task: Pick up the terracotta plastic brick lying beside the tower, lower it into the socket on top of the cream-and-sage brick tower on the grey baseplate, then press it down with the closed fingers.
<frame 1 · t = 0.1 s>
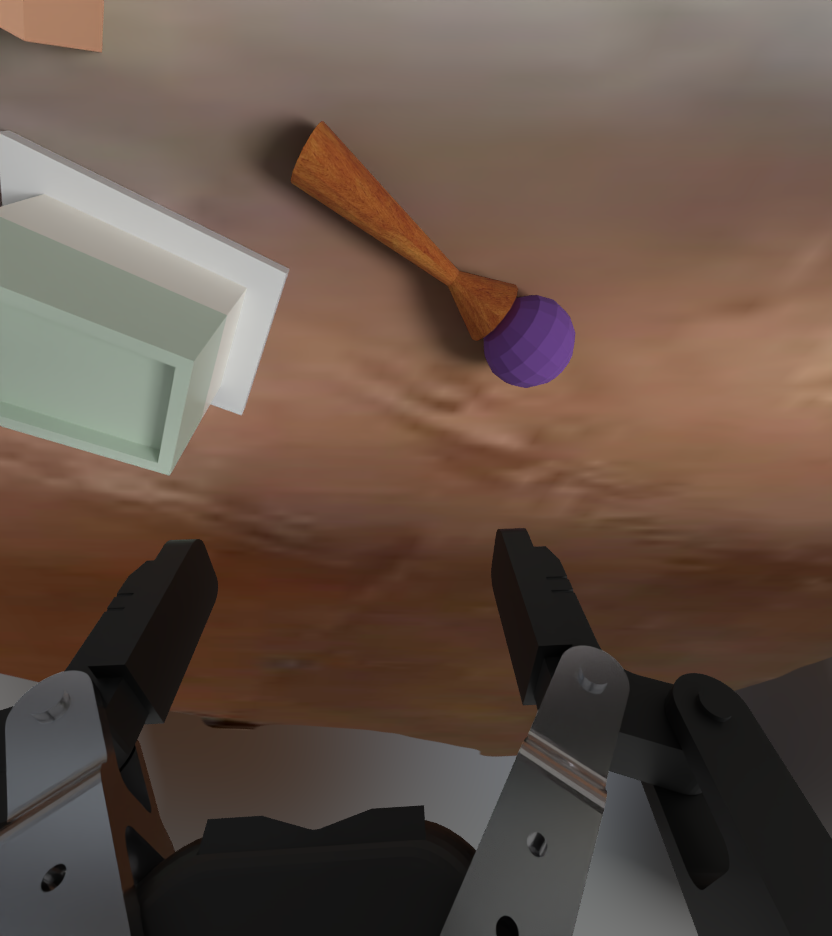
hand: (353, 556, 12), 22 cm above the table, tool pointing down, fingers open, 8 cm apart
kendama: (445, 262, 28), on the table
tower: (152, 298, 28), on the table
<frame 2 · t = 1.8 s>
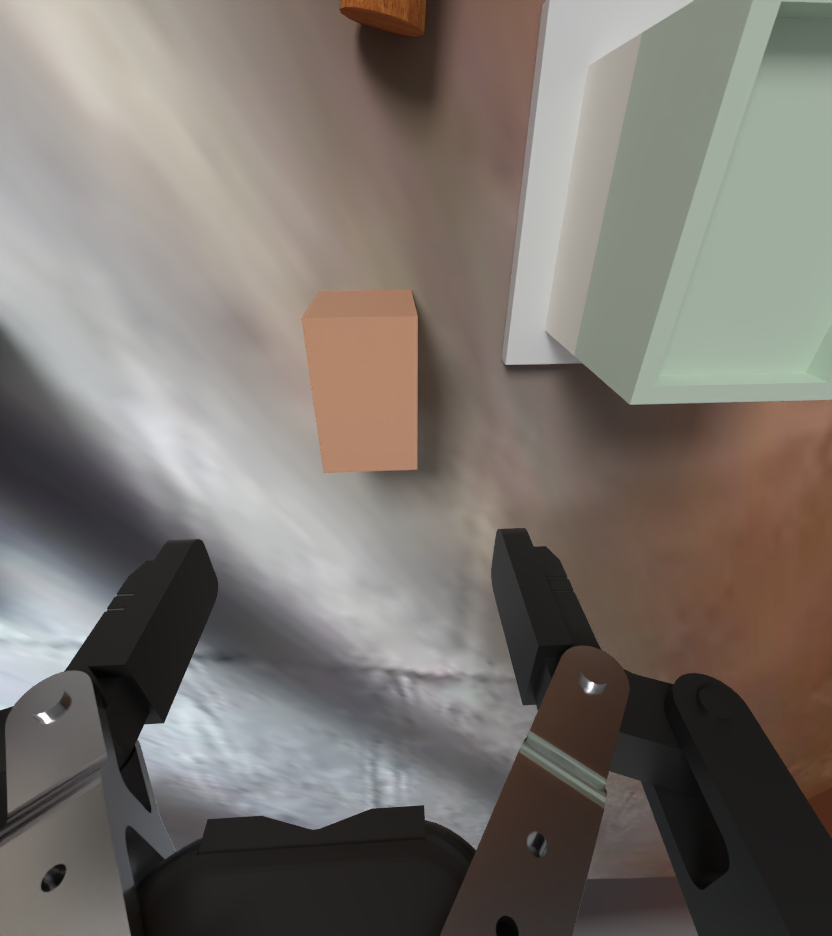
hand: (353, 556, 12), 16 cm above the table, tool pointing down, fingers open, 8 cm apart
brick: (369, 360, 25), on the table
tower: (632, 215, 22), on the table
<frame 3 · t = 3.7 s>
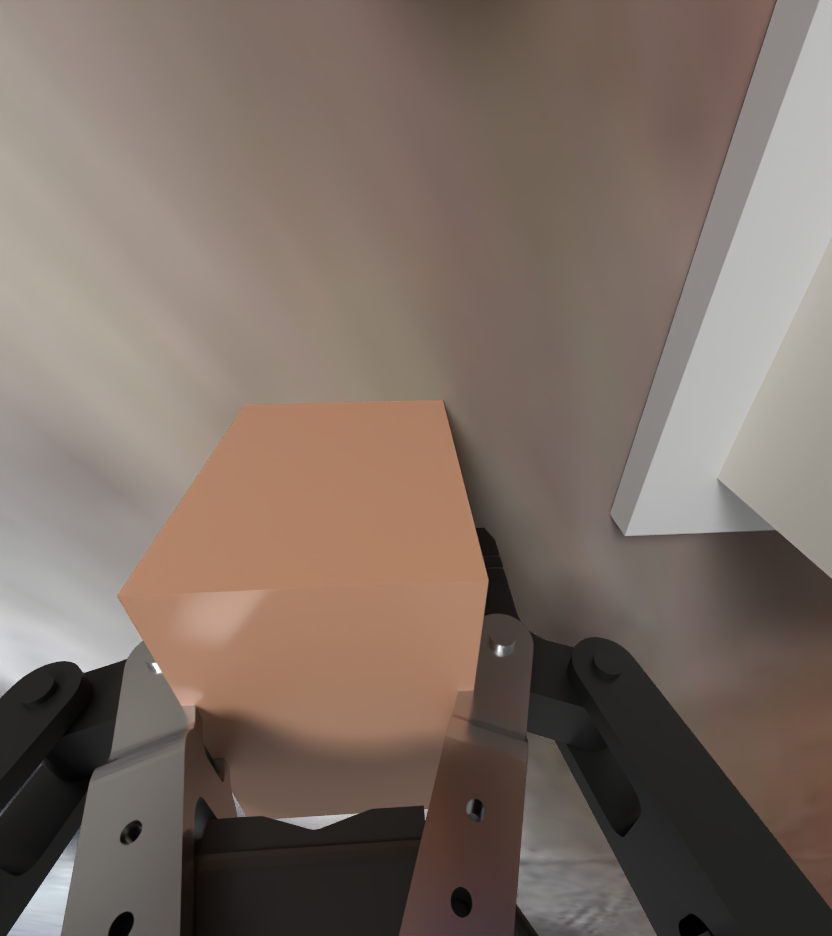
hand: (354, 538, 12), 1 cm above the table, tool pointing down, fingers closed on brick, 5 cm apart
brick: (357, 522, 13), on the table, touching gripper
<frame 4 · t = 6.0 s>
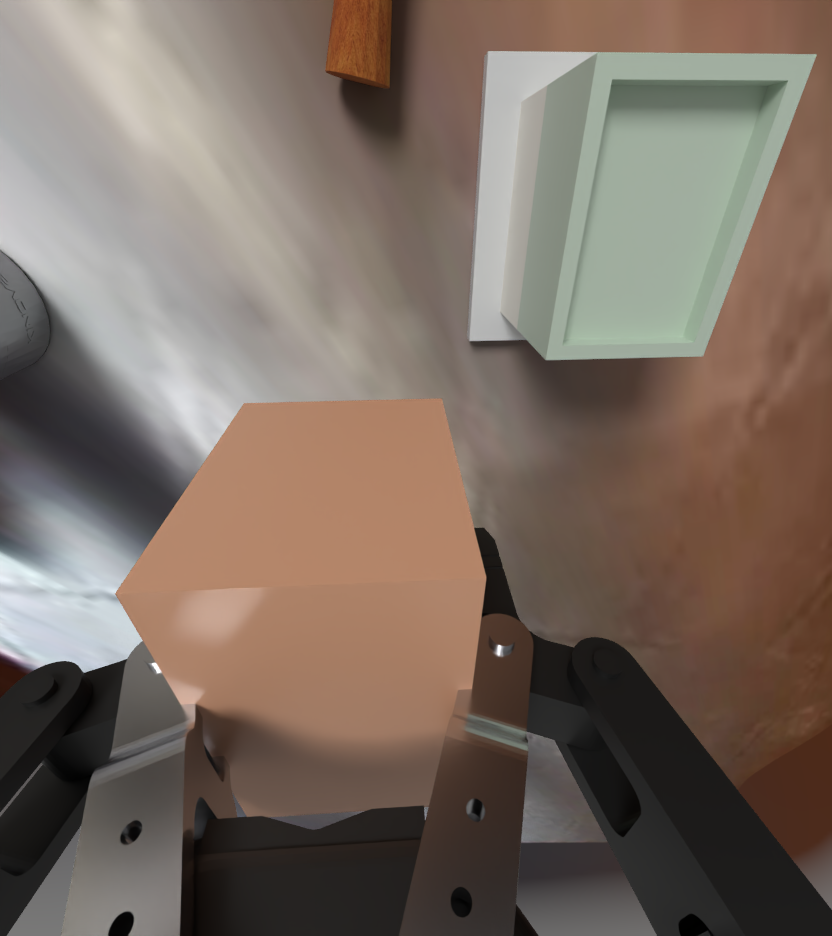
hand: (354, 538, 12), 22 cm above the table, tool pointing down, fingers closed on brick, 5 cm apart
brick: (356, 521, 13), point 21 cm above the table, touching gripper
tower: (567, 217, 27), on the table
when the fingers open (13 cm above the table, at t = 8.7 s): brick drops 2 cm, resting on tower.
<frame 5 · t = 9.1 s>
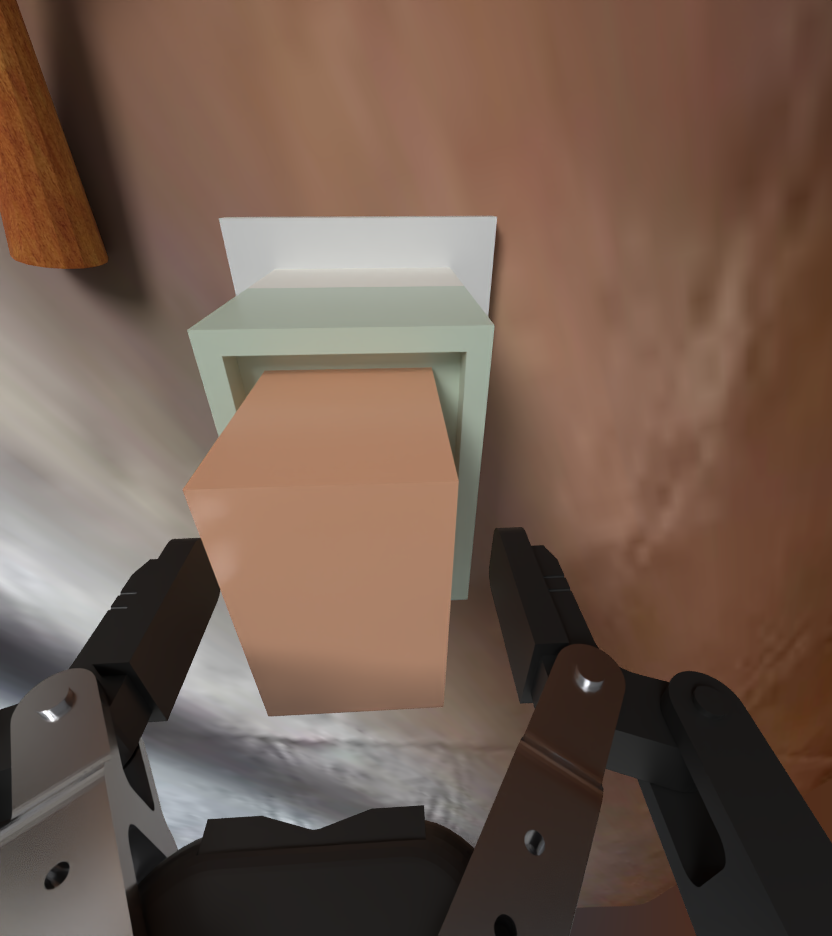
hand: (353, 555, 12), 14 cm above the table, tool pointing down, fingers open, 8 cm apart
brick: (358, 478, 15), point 10 cm above the table, touching tower
tower: (371, 374, 23), on the table
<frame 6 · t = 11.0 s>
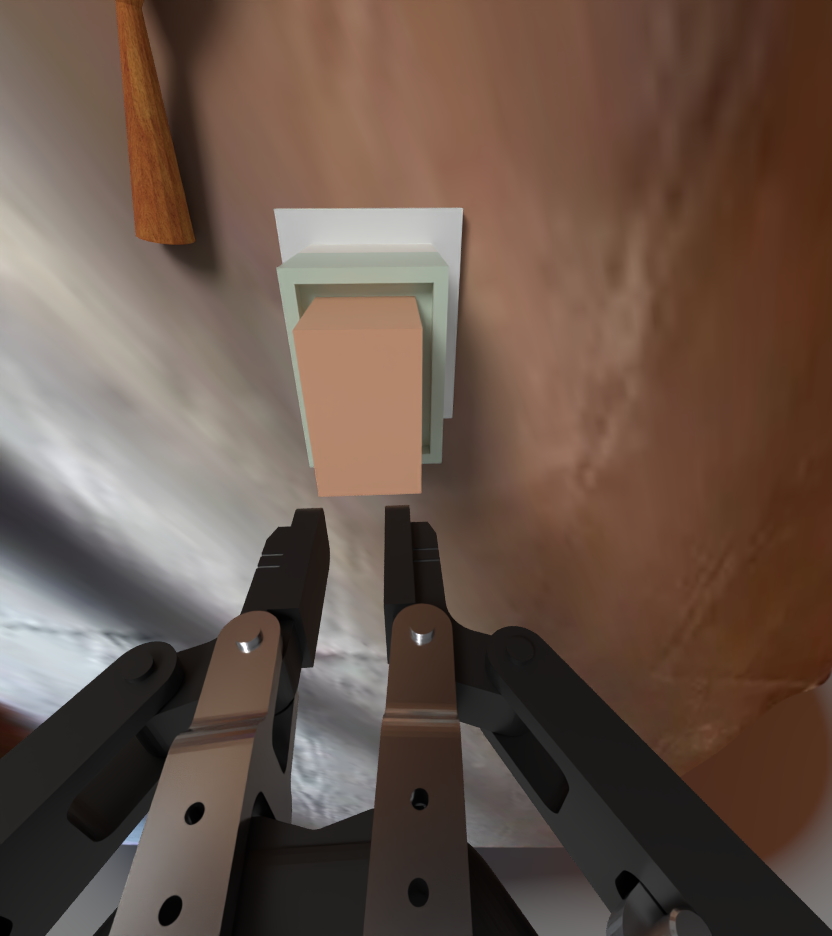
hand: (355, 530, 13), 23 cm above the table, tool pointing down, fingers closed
brick: (370, 372, 23), point 10 cm above the table, touching tower
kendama: (154, 30, 23), on the table
tower: (376, 324, 32), on the table
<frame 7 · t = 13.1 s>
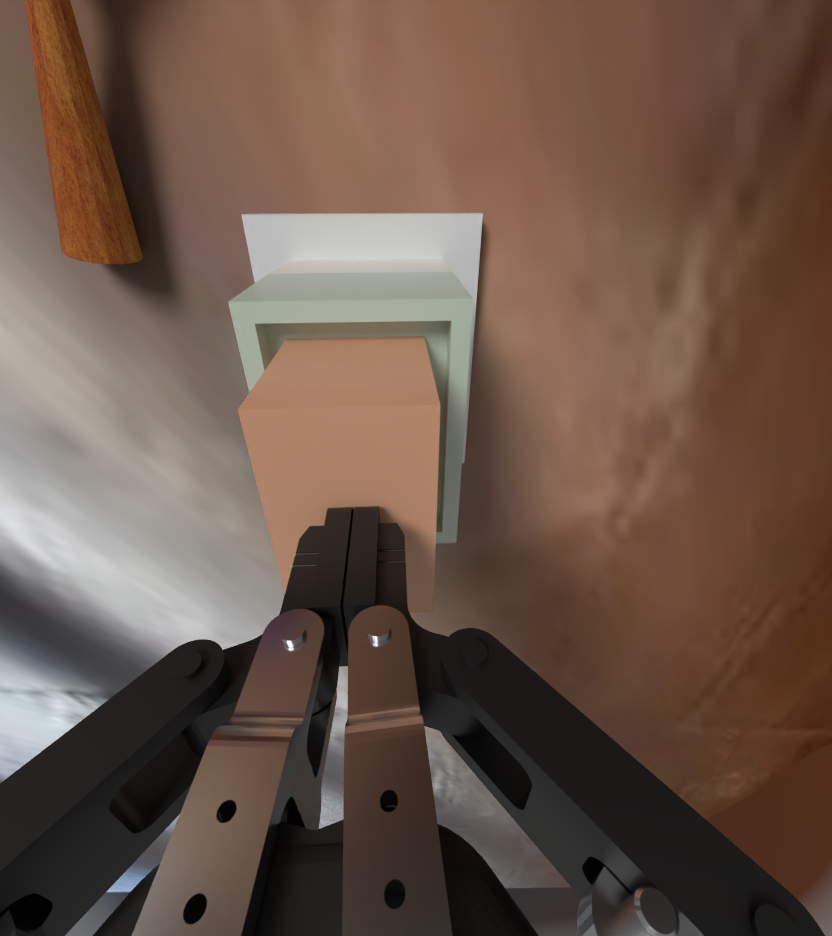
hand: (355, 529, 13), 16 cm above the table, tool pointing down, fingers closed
brick: (363, 433, 18), point 10 cm above the table, touching gripper, tower
tower: (372, 355, 26), on the table
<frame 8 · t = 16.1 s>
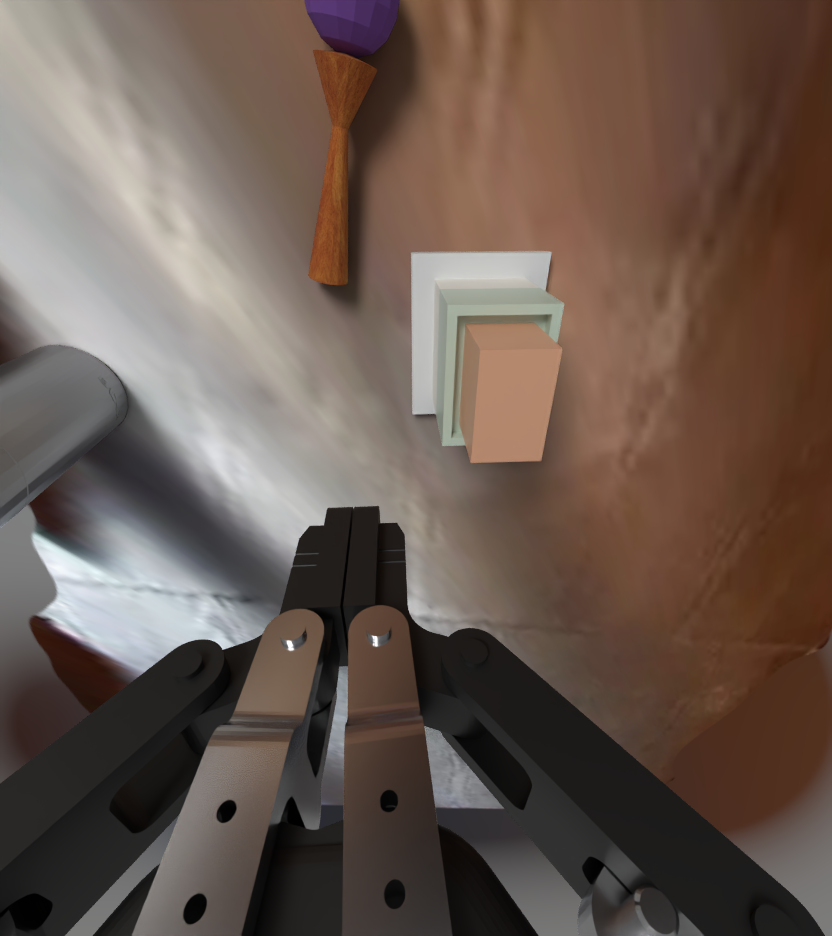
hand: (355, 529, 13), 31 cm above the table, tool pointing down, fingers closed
brick: (494, 376, 32), point 10 cm above the table, touching tower
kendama: (343, 136, 32), on the table
tower: (473, 338, 41), on the table
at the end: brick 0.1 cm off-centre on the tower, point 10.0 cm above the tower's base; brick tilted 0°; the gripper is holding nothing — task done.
